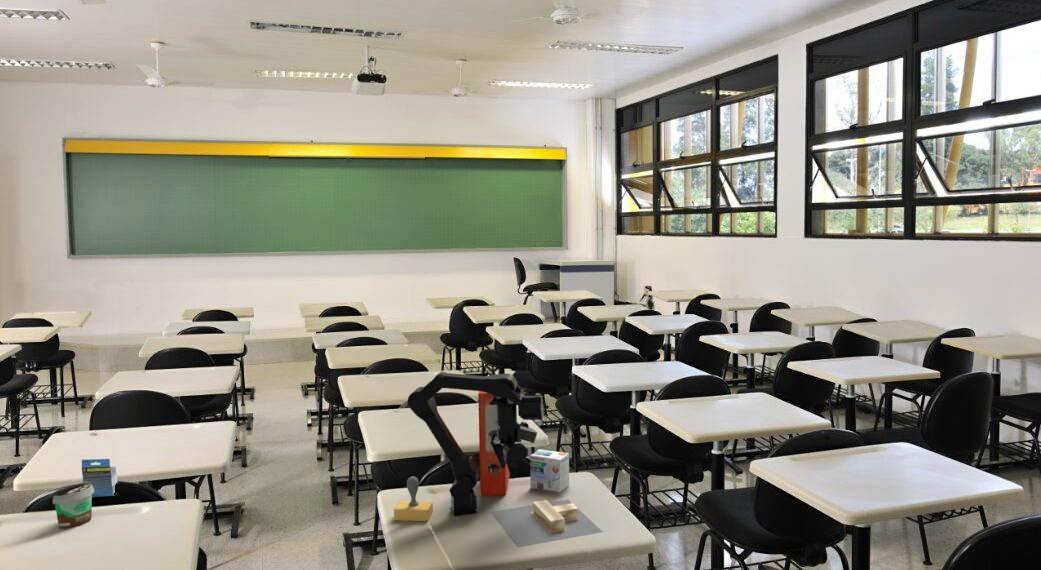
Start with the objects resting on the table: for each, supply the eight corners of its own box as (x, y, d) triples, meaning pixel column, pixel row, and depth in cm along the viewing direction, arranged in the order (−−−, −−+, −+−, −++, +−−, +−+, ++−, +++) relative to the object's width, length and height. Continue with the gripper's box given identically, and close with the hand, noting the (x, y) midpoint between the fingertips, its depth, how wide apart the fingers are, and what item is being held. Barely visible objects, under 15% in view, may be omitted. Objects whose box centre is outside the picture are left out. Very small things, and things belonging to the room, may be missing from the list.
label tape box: (118, 491, 240) (115, 454, 239) (112, 496, 236) (109, 458, 235) (90, 493, 240) (86, 455, 238) (83, 498, 236) (80, 459, 234)
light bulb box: (529, 488, 235) (529, 454, 233) (539, 481, 241) (538, 448, 239) (561, 494, 230) (560, 459, 228) (570, 486, 236) (569, 452, 234)
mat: (517, 548, 194) (517, 546, 194) (490, 513, 216) (490, 511, 216) (602, 533, 202) (602, 531, 202) (567, 500, 224) (567, 499, 224)
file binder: (510, 476, 246) (508, 379, 242) (506, 496, 229) (504, 393, 225) (485, 476, 246) (483, 379, 243) (480, 496, 229) (477, 393, 226)
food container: (74, 532, 210) (70, 497, 209) (55, 530, 212) (51, 496, 211) (106, 514, 222) (103, 481, 221) (88, 513, 224) (85, 480, 223)
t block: (551, 531, 202) (550, 521, 202) (533, 512, 215) (533, 502, 215) (585, 525, 205) (585, 515, 205) (565, 506, 218) (565, 496, 218)
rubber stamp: (433, 513, 217) (431, 473, 216) (428, 522, 212) (427, 480, 210) (399, 512, 219) (398, 472, 217) (394, 521, 213) (392, 480, 212)
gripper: (545, 424, 207) (546, 479, 209) (522, 407, 224) (524, 458, 226) (506, 429, 203) (508, 485, 205) (486, 412, 221) (488, 463, 223)
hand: (508, 472), depth 215 cm, fingers open, 9 cm apart
